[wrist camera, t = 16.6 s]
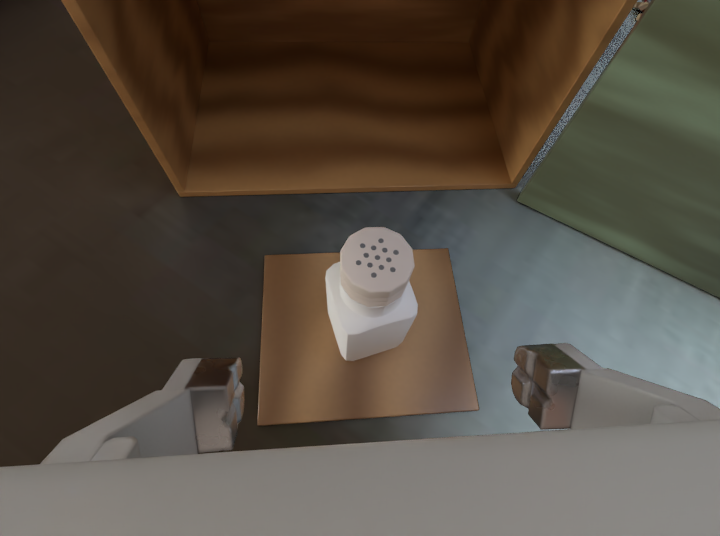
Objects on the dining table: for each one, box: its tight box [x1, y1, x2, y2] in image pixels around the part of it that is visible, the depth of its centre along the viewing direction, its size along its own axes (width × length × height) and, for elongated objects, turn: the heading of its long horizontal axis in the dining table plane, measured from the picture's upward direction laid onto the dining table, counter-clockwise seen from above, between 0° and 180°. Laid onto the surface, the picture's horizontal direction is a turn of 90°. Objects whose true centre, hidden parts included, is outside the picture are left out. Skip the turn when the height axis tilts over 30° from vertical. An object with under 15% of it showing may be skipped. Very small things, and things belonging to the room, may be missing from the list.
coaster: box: [257, 248, 479, 426], centre depth 25 cm, size 13×11×1 cm
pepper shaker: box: [325, 227, 418, 361], centre depth 21 cm, size 4×4×10 cm
